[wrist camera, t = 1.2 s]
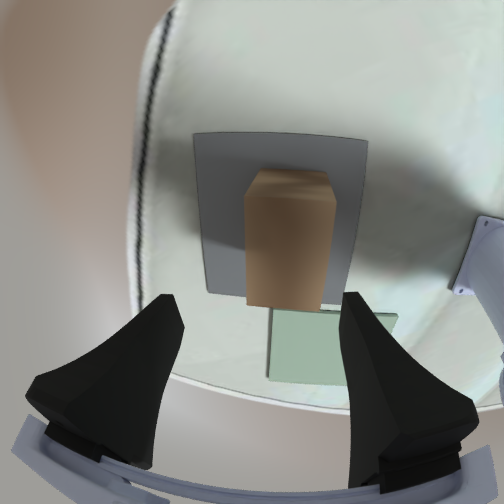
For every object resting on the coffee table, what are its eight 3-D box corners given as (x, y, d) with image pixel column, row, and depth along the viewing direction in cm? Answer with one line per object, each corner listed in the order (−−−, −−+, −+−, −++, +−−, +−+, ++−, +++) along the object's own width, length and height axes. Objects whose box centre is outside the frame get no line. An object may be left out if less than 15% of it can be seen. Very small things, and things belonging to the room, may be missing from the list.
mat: (397, 314, 23) (398, 316, 23) (364, 382, 29) (364, 385, 29) (273, 306, 25) (273, 309, 24) (269, 378, 31) (268, 380, 31)
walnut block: (326, 172, 18) (336, 202, 13) (317, 259, 21) (319, 311, 16) (260, 168, 18) (243, 195, 13) (260, 255, 22) (246, 305, 17)
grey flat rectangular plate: (367, 141, 16) (368, 141, 16) (340, 303, 23) (340, 305, 23) (194, 133, 18) (193, 134, 18) (209, 291, 25) (208, 293, 25)
